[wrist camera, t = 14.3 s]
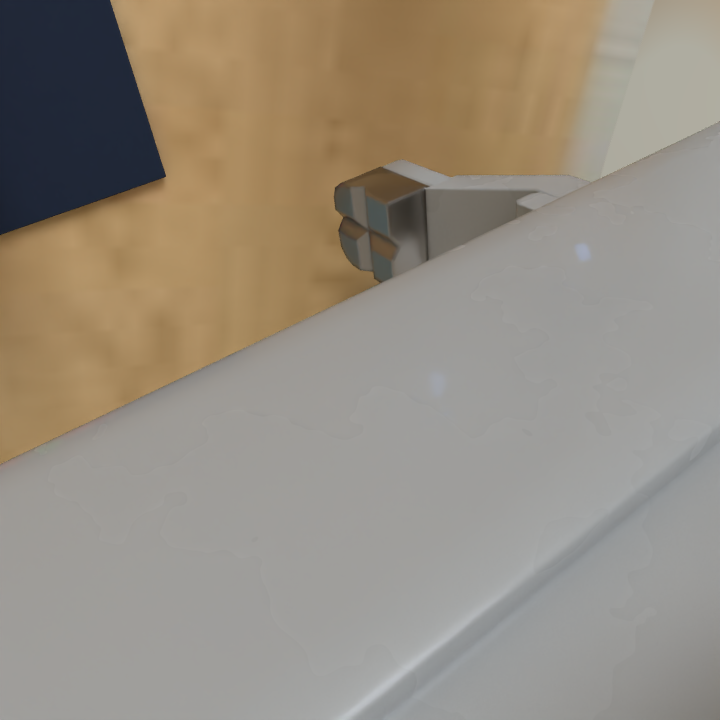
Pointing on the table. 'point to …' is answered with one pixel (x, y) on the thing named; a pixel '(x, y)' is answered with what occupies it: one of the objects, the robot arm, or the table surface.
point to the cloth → (67, 111)
